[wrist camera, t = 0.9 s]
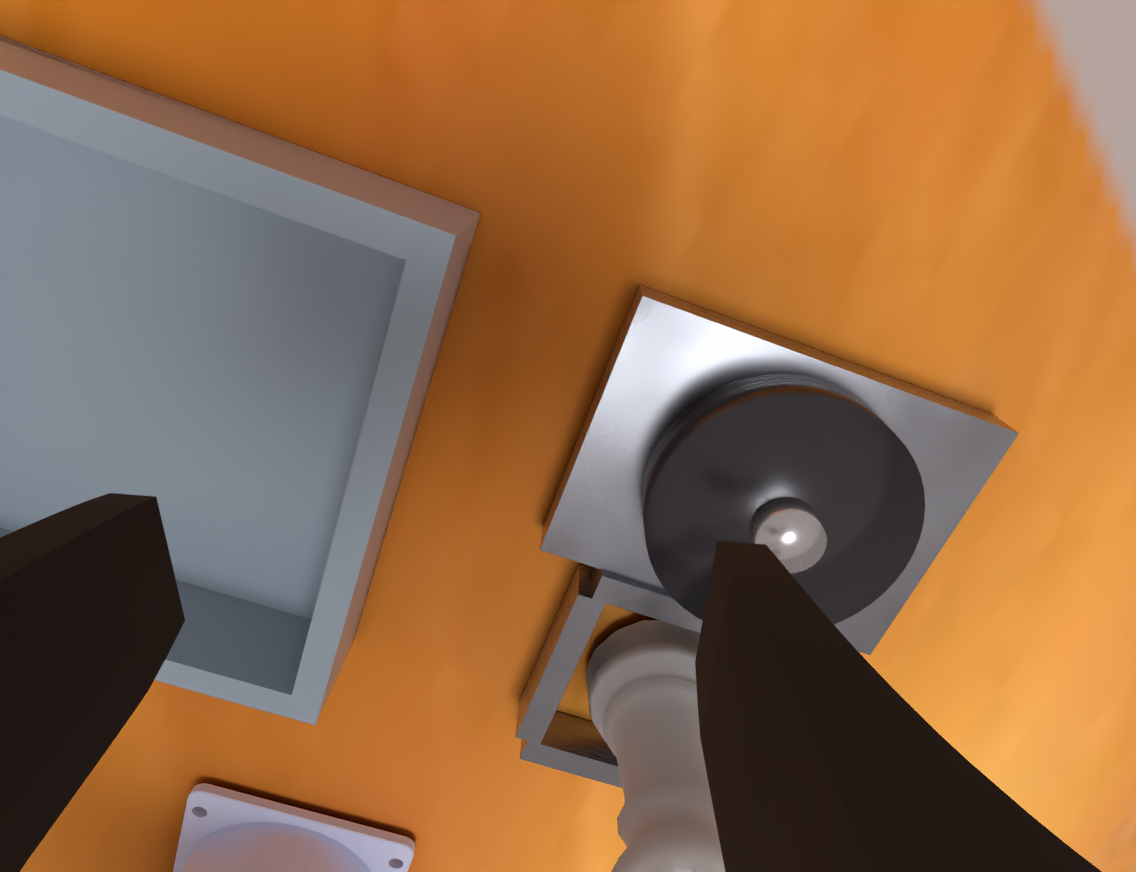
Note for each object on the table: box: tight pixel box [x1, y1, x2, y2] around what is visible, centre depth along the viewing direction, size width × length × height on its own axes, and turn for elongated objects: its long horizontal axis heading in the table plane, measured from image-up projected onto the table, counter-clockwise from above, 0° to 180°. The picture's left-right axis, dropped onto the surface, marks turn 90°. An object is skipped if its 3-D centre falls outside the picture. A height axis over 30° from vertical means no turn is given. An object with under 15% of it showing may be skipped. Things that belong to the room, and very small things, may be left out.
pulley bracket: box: [515, 285, 1019, 788], centre depth 20 cm, size 15×10×4 cm
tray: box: [0, 36, 480, 725], centre depth 18 cm, size 14×14×4 cm
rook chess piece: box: [586, 619, 725, 872], centre depth 19 cm, size 4×4×8 cm
